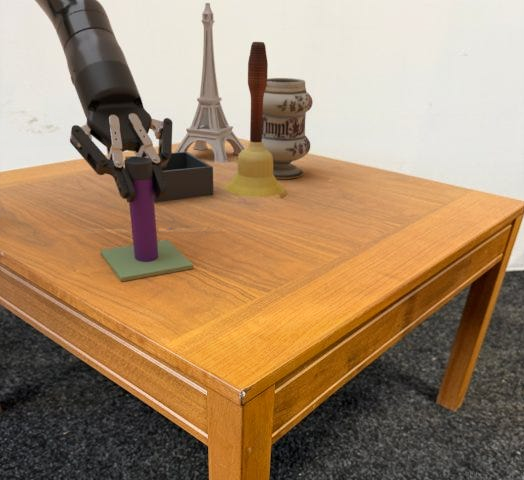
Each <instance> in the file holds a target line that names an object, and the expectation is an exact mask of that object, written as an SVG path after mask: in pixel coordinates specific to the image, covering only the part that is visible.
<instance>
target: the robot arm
mask: <svg viewBox="0 0 524 480" xmlns="http://www.w3.org/2000/svg"><path fill="white" fill-rule="evenodd" d="M34 1H35V2H36V4H37V5H38V6H39V7H40V9H41V10H42V11H43V12H44V14H45V15H46V16H47V18H48V19H49V21H50V23H51V24H52V26H53V28H54V30H55V32H56V35H57V37H58V40H59V43H60V46H61V48H62V51H63V54H64V56H65V60H66V64H67V69H68V72H69V75H70V80H71V84H72V85H73V86H74V89H75V92H76V94H77V98H78V99H79V103H80V104H81V107H82V111H83V113H84V116H85V118H86V123H85V124H84V125H81V126H80V125H77V124H73V125H72V126H71V130H70V136H69V137H70V138H69V143H70V144H71V145H72V147H73V148H74V149H75V150H76V151H77V152H78V154H80V156H81V157H82V158H83V159H84V160H85V162H86V163H87V164H88V165H89V166H90V167H91V168H92V170H93V171H94V172H95V173H96V174H97V175H98V176H104V175H109V176H111V177H112V178H113V179H114V182H115V185H116V188H117V190H118V193H119V196H120V197H121V198H122V199H123V200H125V201H126V202H127V203H128V204H129V202H134V200H135V197H136V192H135V189H134V186H133V184H132V181H131V178H130V176H129V173H128V170H127V169H126V168H125V164H124V156H123V153H124V152H126V151H128V152H133V153H134V154H135V156H137V157H144V158H149V159H151V160H152V169H153V177H152V179H153V190H154V193H155V195H156V198H163V196H164V194H165V191H166V189H167V185H168V183H167V181H166V178H165V175H164V173H163V170H162V168H161V167H163V168H164V167H166V166H167V164H168V161H169V158H170V157H171V153H173V151H172V150H173V144H172V143H173V120H172V119H170V118H169V117H165V118H164V119H163V121H161V120H159V119H155V118H152V116H151V114H150V113H149V112H148V111H147V110H146V108H145V107H144V103H143V99H142V96H141V94H140V92H139V89H138V86H137V84H136V81H135V79H134V75H133V74H132V71H131V69H130V66H129V63H128V61H127V58H126V55H125V53H124V51H123V50H122V47H121V45H120V44H119V42H118V40H117V37H116V35H115V32H114V29H113V27H112V24H111V22H110V19H109V15H108V13H107V12H106V9H105V7H104V6H103V4H102V3H101V2H100V1H98V0H34ZM150 130H152V132H153V134H154V136H155V139H156V140H158V149H157V150H158V152H157V150H156V149H155V148H154V143H153V140H152V139H151V137H150V136H149V132H150ZM93 138H94V139H96V141H98V143H100V144H102V145H103V146H105V147H106V155H105V154H104V153H103V152H102V151H101V149H100V148H99V147H98V146H97V145H96V143H95V142H94V141H93Z"/></svg>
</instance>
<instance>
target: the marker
mask: <svg viewBox="0 0 524 480" xmlns="http://www.w3.org/2000/svg"><path fill="white" fill-rule="evenodd" d="M123 162H124V168H126V169H127V170H128V173H129V176H130V178H131V181H132V184H133V186H134V189H135V192H136V197H135V200H134V202H129V203H128V205H129V215H130V224H131V233H132V245H134V255H135V259H136V260H138V261H142V262H149V261H154V260H156V259H157V258H158V245H157V241H158V235H157V219H156V209H155V208H156V205H155V202H154V193H153V179H152V177H153V169H152V160H151V159H149V158H144V157H133V158H128V159H125V158H124V159H123Z"/></svg>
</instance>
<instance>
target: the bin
mask: <svg viewBox="0 0 524 480" xmlns="http://www.w3.org/2000/svg"><path fill="white" fill-rule="evenodd" d="M133 157H137V156H136V155H131V156H130V155H129V156H125V157H124V160H125V159H128V158H133ZM161 168H162V170H163V173H164V175H165V178H166V181H167V183H168V185H167V189H166V191H165V194H164V196H163V198H156V195H155V193H154V190H153V193H154V203H162V202H170V201H177V200H187V199H194V198H201V197H210V196H214V166H213V165H211V164H210V163H207V162H205V161H204V160H202V159H201V158H199V157H197V156H195V155H194V154H192V153H191V152H189V151H187V152H176V153H174V152H172V153H171V157H170V158H169V161H168V164H167V166H166V167H164V168H163V167H161Z"/></svg>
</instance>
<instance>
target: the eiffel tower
mask: <svg viewBox="0 0 524 480" xmlns="http://www.w3.org/2000/svg"><path fill="white" fill-rule="evenodd" d="M201 15H202V17H201V20H200V21H201V23H202V25H203V26H202V27H203V51H202V53H203V54H202V69H201V81H200V82H201V84H200V89H199V90H200V91H199V97H197V98H196V101H197V107H196V110H195V113H194V116H193V120H192V122H191V125H190V127H187V128H186V129H185V130H186V132H187V133H186V134H185V136H184V137H183V139H182V140H181V142H180V143H179V145H178V147H177V148H176V149H175V151H174V152H173V153H176V152H188V150H189V148H190V147H191V146H192V145H193V144H194V145H193V146H192V150H198V151H204V150H207V149H208V148H209V146H210V148H211V149H212V151H213V155H214V156H213V157H214V160H213V161H214V162H213V163H230V161H229V159H228V156H227V153H226V146H225V145H226V142H228V143H229V144H230V146H231V147H232V149H233V152H232V154H233V155H237V156H238V155H239V153H240V152H241V151H242V150H244V149H246V147H245V146H244V144H242V142H241V141H240V139H239V138H238V137H237V135H236V134H235V133H234V131H233V129H234V126H231V125H229V122H228V120H227V117H226V115H225V113H224V110H223V107H222V104H221V101H222V97H220V95H219V88H218V81H217V80H218V79H217V71H216V63H215V51H214V49H215V48H214V33H213V27H214V23H215V19H214V12H213V11H212V7H211V3H210V2H205V5H204V10H203V11H202V14H201ZM207 144H208V145H209V146H208V145H207Z"/></svg>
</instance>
